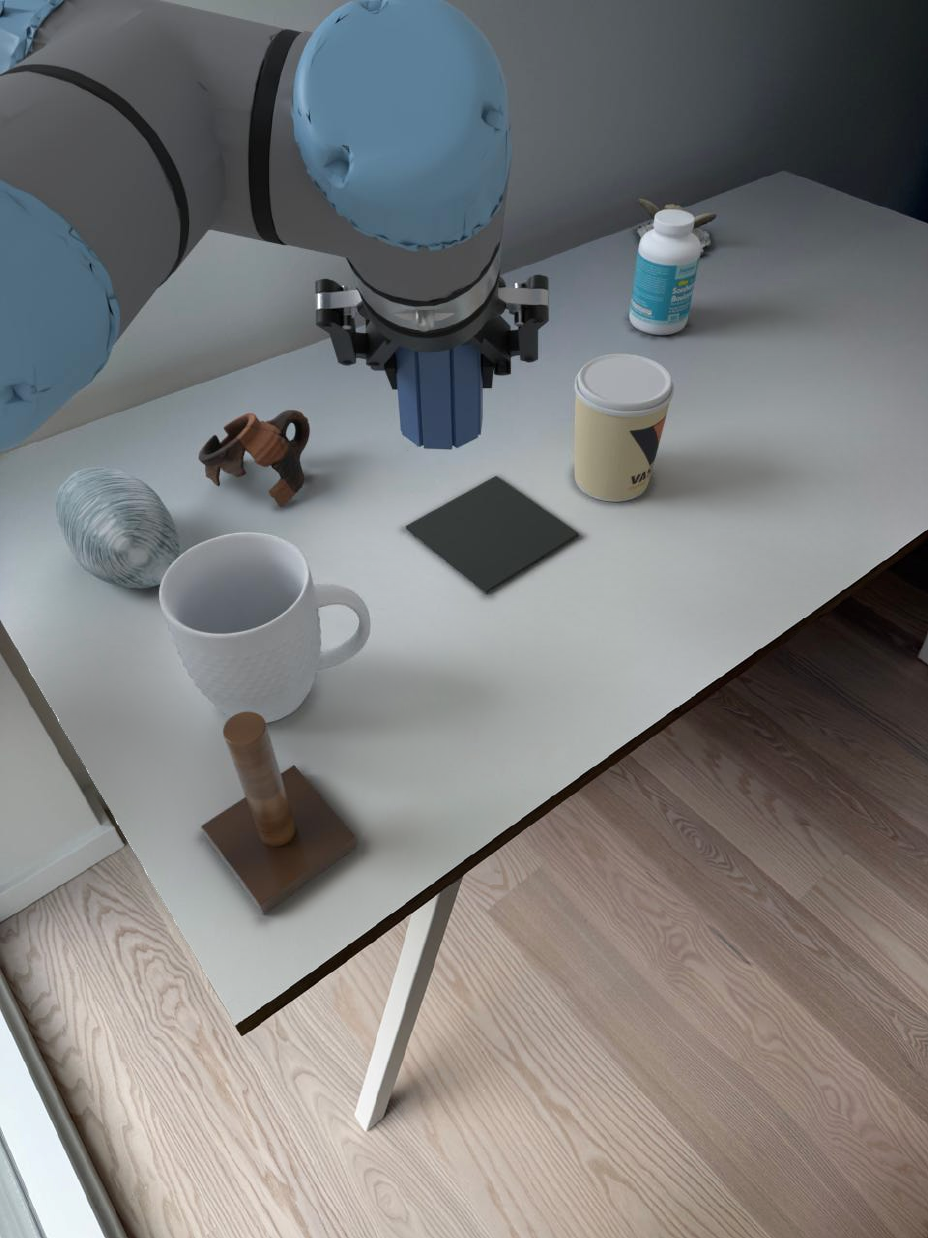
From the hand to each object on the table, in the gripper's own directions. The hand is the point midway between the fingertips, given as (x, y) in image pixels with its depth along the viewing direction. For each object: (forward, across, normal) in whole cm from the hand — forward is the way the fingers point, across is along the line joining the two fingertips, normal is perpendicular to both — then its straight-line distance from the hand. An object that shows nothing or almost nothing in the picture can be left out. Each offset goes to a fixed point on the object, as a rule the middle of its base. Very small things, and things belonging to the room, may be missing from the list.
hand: (441, 370), depth 68 cm
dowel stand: (-4, -12, -35) cm, 37 cm away
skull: (+65, +32, +34) cm, 80 cm away
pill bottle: (+48, +26, +17) cm, 57 cm away
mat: (+19, +4, -11) cm, 23 cm away
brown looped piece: (+26, -19, -5) cm, 33 cm away
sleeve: (-1, 0, -4) cm, 4 cm away
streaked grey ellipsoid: (+17, -31, -14) cm, 38 cm away
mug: (+6, -14, -25) cm, 29 cm away
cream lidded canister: (+25, +17, -6) cm, 31 cm away
